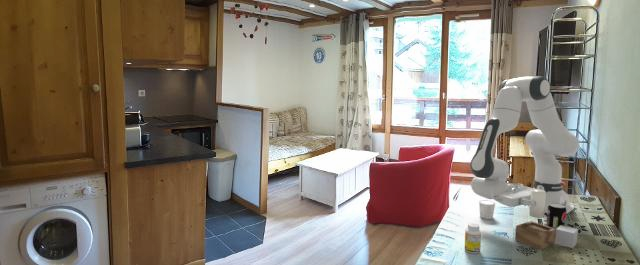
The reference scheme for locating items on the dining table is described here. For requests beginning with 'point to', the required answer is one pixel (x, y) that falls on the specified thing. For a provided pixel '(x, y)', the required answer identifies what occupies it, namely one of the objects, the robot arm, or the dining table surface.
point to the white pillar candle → (538, 203)
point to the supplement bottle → (473, 238)
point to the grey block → (566, 236)
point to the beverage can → (556, 215)
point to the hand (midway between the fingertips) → (539, 202)
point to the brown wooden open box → (535, 234)
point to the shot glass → (486, 209)
